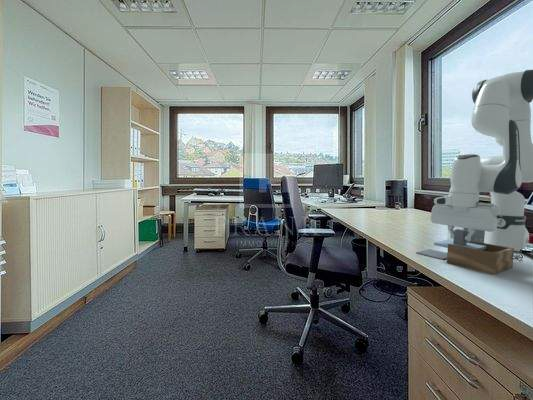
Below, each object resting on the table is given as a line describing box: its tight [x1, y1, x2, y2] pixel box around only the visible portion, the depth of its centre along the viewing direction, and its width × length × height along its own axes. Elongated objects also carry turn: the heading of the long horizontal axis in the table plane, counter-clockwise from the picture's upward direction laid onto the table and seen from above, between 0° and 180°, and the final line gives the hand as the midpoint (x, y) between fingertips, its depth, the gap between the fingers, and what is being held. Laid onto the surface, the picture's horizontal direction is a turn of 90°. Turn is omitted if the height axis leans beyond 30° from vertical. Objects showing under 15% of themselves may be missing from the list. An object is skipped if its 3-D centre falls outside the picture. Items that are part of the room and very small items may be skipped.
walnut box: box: [446, 241, 515, 275], centre depth 101 cm, size 14×14×6 cm
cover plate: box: [433, 229, 487, 250], centre depth 106 cm, size 11×12×6 cm
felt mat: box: [415, 248, 447, 261], centre depth 114 cm, size 10×10×1 cm
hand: (460, 239), depth 106 cm, fingers closed on cover plate, 3 cm apart
